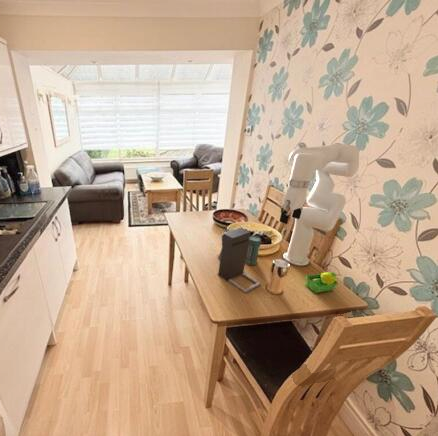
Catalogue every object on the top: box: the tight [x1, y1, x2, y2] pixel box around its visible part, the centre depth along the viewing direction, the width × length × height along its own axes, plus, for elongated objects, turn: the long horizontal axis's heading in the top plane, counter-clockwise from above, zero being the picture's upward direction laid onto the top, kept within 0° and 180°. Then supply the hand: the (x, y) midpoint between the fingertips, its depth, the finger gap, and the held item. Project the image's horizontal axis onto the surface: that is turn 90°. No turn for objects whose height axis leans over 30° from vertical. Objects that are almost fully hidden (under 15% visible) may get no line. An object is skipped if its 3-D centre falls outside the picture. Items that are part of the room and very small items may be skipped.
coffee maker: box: [217, 227, 261, 293], centre depth 115 cm, size 12×17×24 cm
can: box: [245, 235, 262, 266], centre depth 131 cm, size 6×6×15 cm
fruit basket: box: [305, 271, 339, 294], centre depth 111 cm, size 11×9×11 cm
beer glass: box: [266, 258, 291, 295], centre depth 110 cm, size 7×7×15 cm
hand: (289, 220), depth 107 cm, fingers open, 9 cm apart
